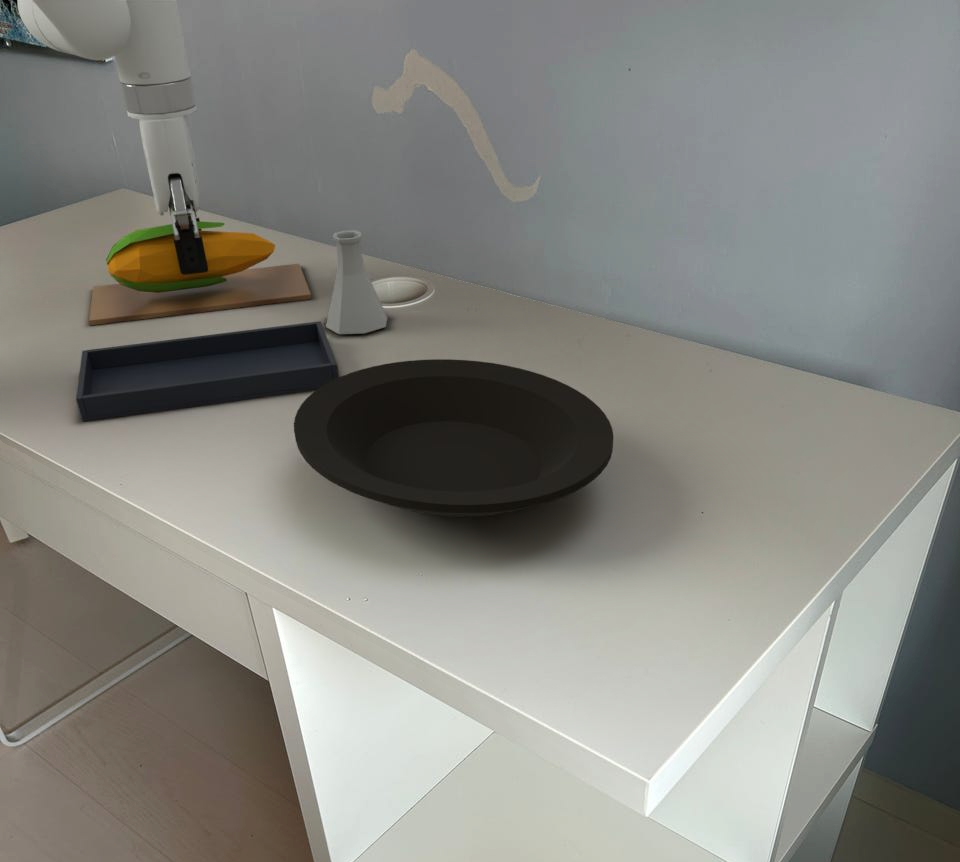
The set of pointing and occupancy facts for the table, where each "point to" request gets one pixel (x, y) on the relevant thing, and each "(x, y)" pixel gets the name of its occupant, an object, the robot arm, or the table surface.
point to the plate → (453, 436)
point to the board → (200, 295)
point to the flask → (353, 290)
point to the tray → (203, 370)
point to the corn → (154, 262)
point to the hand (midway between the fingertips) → (193, 261)
